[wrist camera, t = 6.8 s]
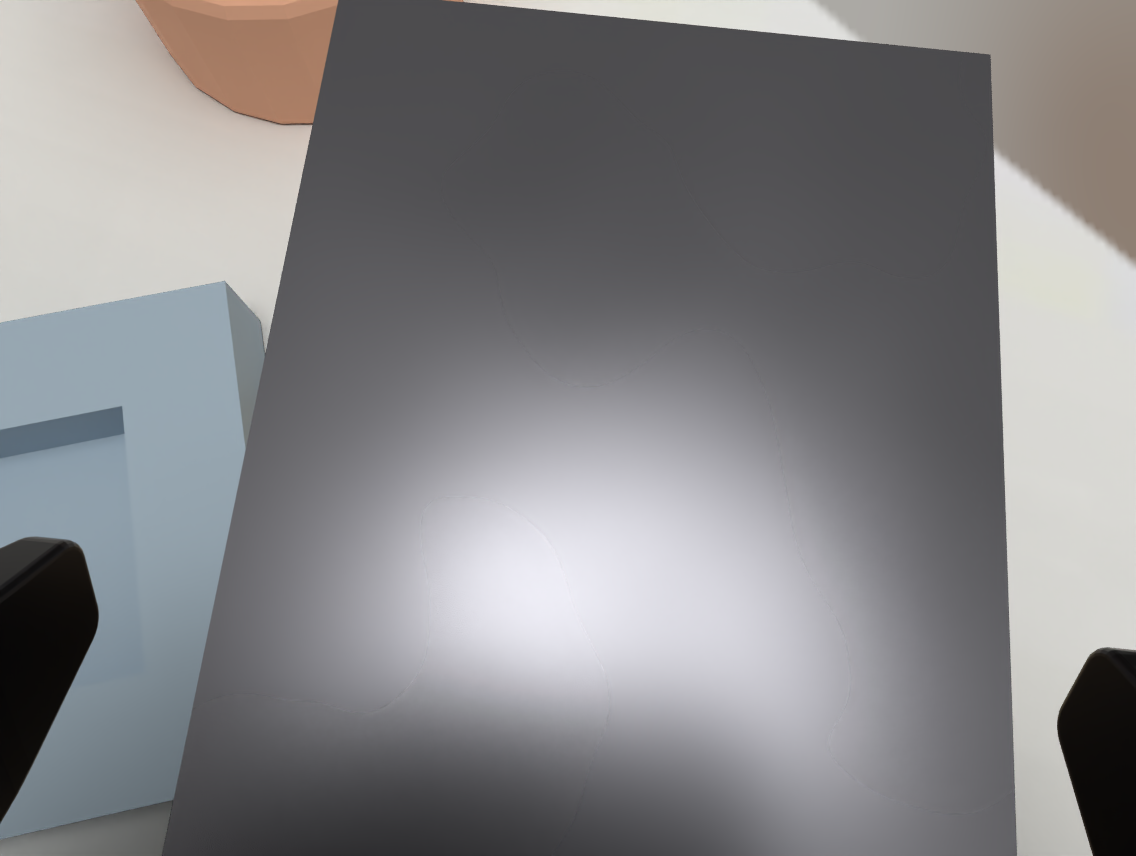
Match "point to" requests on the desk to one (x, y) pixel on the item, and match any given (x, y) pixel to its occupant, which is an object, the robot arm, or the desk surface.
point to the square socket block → (127, 521)
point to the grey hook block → (620, 457)
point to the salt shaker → (250, 51)
